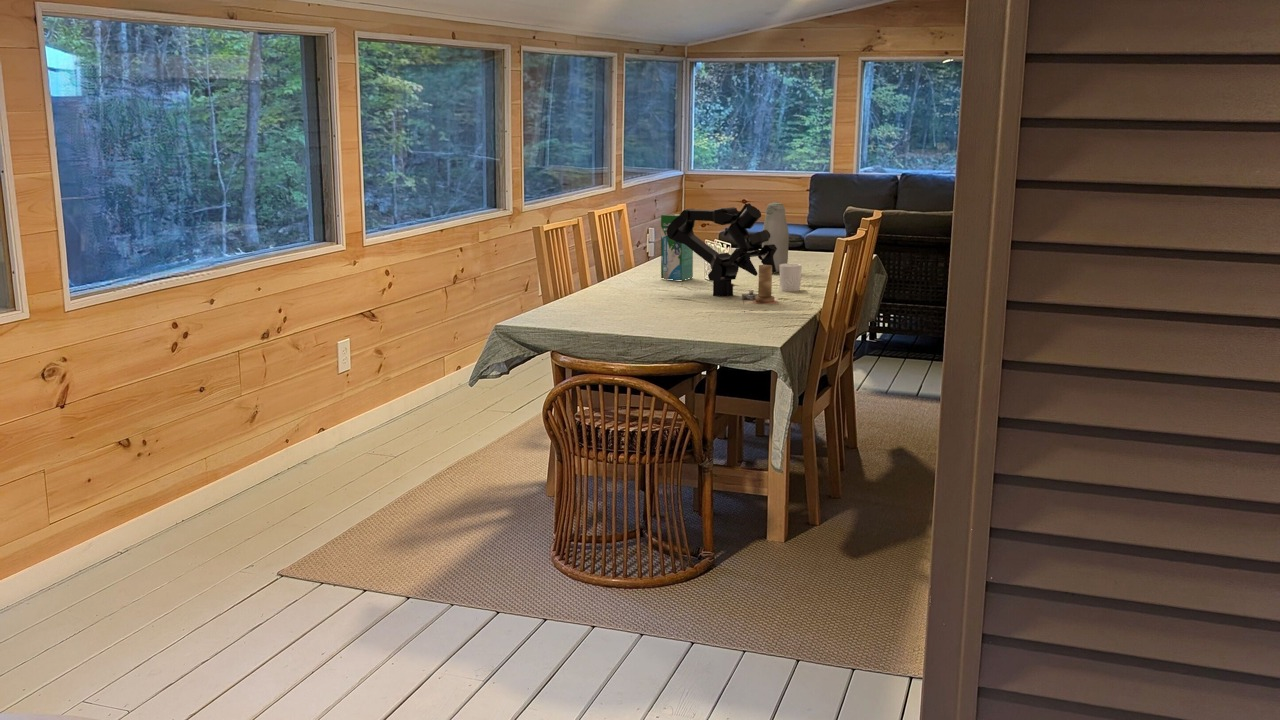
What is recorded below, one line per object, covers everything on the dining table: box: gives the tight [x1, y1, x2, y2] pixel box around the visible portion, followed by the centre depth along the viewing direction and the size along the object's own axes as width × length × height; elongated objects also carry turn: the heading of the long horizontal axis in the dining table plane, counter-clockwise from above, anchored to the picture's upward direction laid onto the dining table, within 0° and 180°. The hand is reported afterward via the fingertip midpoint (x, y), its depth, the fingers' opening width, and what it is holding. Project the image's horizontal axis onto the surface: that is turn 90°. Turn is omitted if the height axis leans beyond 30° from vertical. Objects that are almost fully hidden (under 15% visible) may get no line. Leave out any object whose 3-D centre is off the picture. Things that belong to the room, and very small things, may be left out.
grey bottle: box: [761, 201, 790, 274], centre depth 446 cm, size 10×10×28 cm
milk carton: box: [660, 213, 694, 281], centre depth 432 cm, size 9×9×25 cm
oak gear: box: [755, 264, 775, 303], centre depth 377 cm, size 6×6×12 cm
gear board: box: [741, 296, 780, 305], centre depth 381 cm, size 12×14×1 cm
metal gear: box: [741, 289, 758, 300], centre depth 383 cm, size 6×7×3 cm
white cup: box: [779, 262, 803, 293], centre depth 401 cm, size 8×8×10 cm
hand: (766, 273), depth 376 cm, fingers open, 9 cm apart
